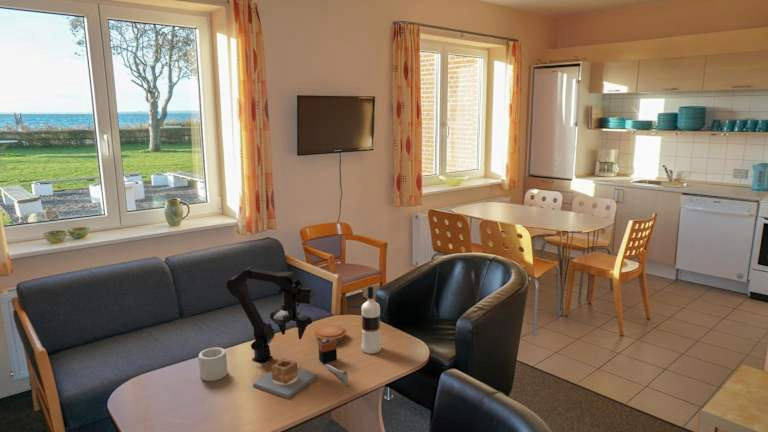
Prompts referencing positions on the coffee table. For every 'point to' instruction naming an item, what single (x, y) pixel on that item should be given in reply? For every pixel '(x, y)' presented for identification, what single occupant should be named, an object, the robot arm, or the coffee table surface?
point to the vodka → (371, 325)
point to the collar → (284, 371)
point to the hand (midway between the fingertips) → (291, 336)
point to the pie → (330, 333)
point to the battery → (327, 350)
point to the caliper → (339, 373)
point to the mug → (212, 364)
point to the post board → (282, 388)
